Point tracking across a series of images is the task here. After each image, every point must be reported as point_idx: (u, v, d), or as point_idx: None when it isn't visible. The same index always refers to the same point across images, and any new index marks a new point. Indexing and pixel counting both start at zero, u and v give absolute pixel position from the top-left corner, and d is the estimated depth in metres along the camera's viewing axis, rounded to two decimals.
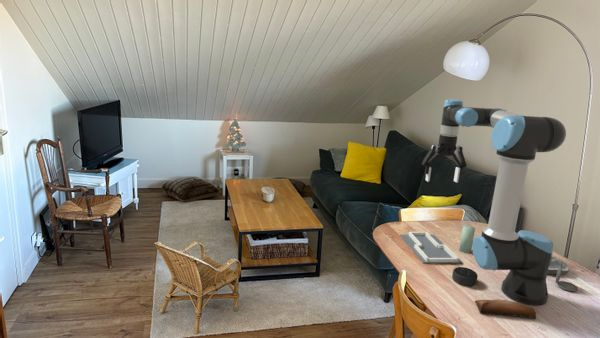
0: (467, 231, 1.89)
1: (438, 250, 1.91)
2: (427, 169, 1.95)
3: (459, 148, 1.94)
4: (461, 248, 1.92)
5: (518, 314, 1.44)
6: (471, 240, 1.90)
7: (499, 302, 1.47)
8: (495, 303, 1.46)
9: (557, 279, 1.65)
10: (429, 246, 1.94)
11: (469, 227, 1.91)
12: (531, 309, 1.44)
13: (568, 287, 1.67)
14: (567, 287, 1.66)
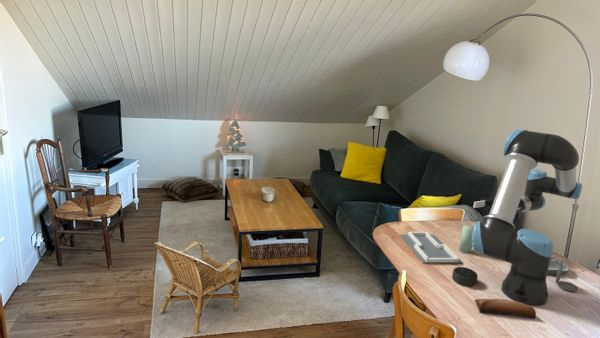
0: (467, 231, 1.89)
1: (438, 250, 1.91)
2: (481, 201, 2.02)
3: None
4: (461, 248, 1.92)
5: (517, 313, 1.44)
6: (471, 240, 1.90)
7: (498, 301, 1.47)
8: (495, 302, 1.46)
9: (557, 279, 1.65)
10: (429, 246, 1.94)
11: (469, 227, 1.91)
12: (531, 309, 1.44)
13: (568, 287, 1.67)
14: (567, 287, 1.66)
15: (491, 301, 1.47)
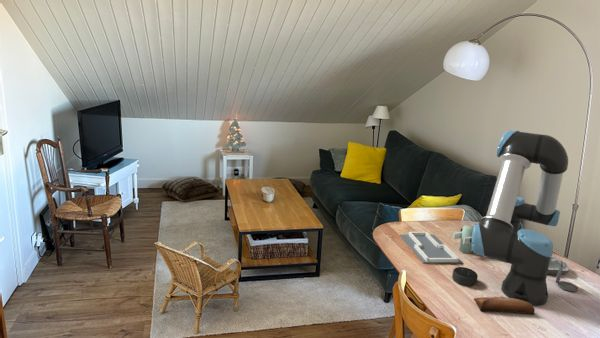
0: (467, 231, 1.89)
1: (438, 250, 1.91)
2: None
3: None
4: (461, 248, 1.92)
5: (517, 310, 1.46)
6: None
7: (498, 299, 1.48)
8: (495, 300, 1.47)
9: (557, 279, 1.65)
10: (429, 246, 1.94)
11: (469, 227, 1.91)
12: (529, 305, 1.47)
13: (568, 287, 1.67)
14: (567, 287, 1.66)
15: (491, 299, 1.48)
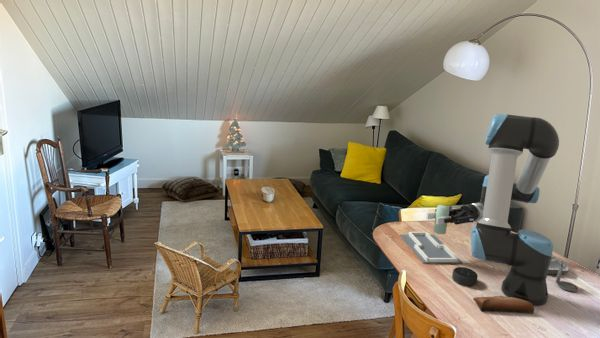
0: (441, 210, 1.79)
1: (438, 250, 1.91)
2: None
3: None
4: (435, 229, 1.82)
5: (517, 309, 1.47)
6: None
7: (498, 298, 1.49)
8: (495, 300, 1.48)
9: (557, 279, 1.65)
10: (429, 246, 1.94)
11: (443, 206, 1.81)
12: (529, 304, 1.47)
13: (568, 287, 1.66)
14: (567, 287, 1.66)
15: (491, 299, 1.48)
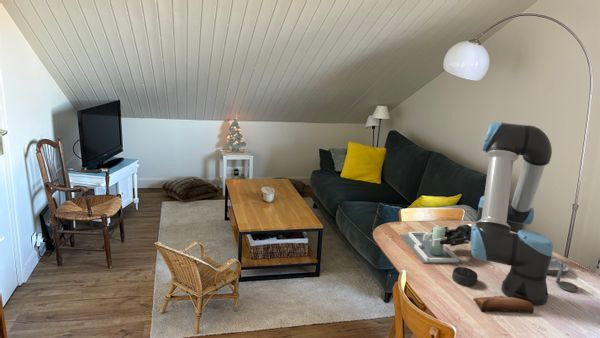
0: (437, 232, 1.82)
1: None
2: None
3: None
4: (431, 250, 1.86)
5: (517, 309, 1.47)
6: None
7: (498, 299, 1.49)
8: (495, 300, 1.48)
9: (558, 279, 1.65)
10: (429, 246, 1.94)
11: (439, 228, 1.84)
12: (528, 304, 1.47)
13: (569, 287, 1.66)
14: (568, 287, 1.66)
15: (491, 299, 1.48)
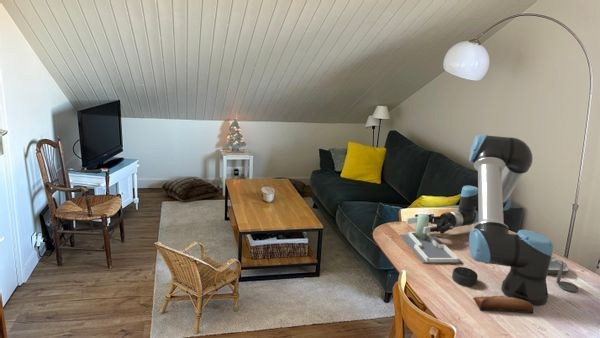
0: (421, 219, 1.98)
1: (438, 250, 1.91)
2: None
3: None
4: (416, 235, 2.01)
5: (516, 309, 1.47)
6: None
7: (497, 298, 1.49)
8: (494, 299, 1.48)
9: (558, 279, 1.65)
10: (429, 246, 1.94)
11: (424, 215, 2.00)
12: (528, 304, 1.47)
13: (569, 287, 1.66)
14: (568, 287, 1.66)
15: (491, 298, 1.48)
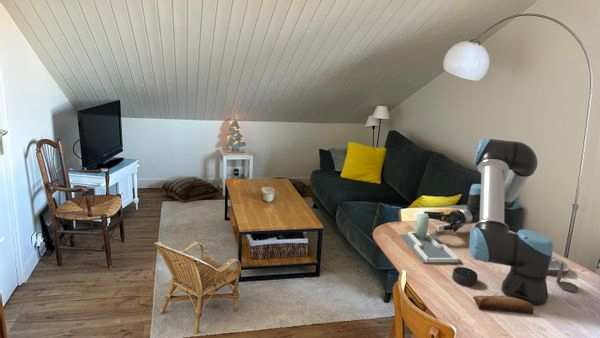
0: (421, 219, 1.98)
1: (438, 250, 1.91)
2: None
3: None
4: (416, 235, 2.01)
5: (516, 309, 1.47)
6: (425, 228, 1.99)
7: (497, 297, 1.49)
8: (493, 299, 1.48)
9: (558, 279, 1.65)
10: (429, 246, 1.94)
11: (424, 215, 2.00)
12: (528, 304, 1.47)
13: (569, 287, 1.66)
14: (568, 287, 1.66)
15: (490, 298, 1.49)
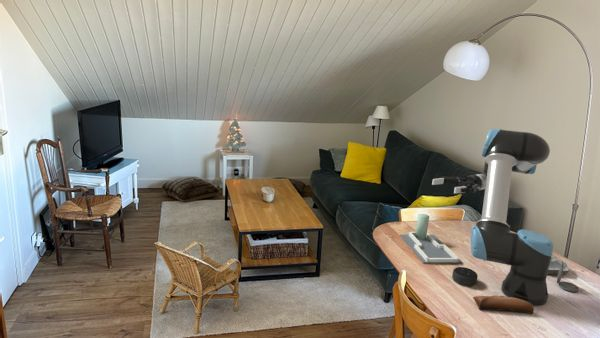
0: (421, 219, 1.98)
1: (438, 250, 1.91)
2: None
3: None
4: (416, 235, 2.01)
5: (516, 309, 1.47)
6: (425, 228, 1.99)
7: (497, 298, 1.49)
8: (493, 299, 1.48)
9: (558, 279, 1.65)
10: (429, 246, 1.94)
11: (424, 215, 2.00)
12: (528, 304, 1.47)
13: (569, 287, 1.66)
14: (568, 287, 1.66)
15: (490, 298, 1.49)
